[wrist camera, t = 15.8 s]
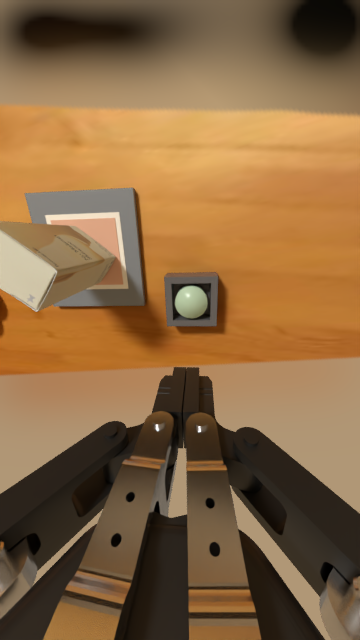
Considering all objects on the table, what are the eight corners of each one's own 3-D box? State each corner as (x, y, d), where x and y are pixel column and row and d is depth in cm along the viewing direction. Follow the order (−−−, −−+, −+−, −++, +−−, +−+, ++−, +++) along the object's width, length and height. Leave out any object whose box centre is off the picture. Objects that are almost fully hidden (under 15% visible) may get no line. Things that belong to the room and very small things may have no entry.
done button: (207, 283, 28) (207, 286, 26) (206, 313, 29) (207, 318, 28) (175, 284, 28) (174, 287, 26) (176, 313, 30) (175, 318, 28)
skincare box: (117, 256, 28) (62, 273, 16) (101, 283, 29) (39, 316, 18) (72, 222, 27) (-20, 216, 15) (57, 252, 28) (-37, 266, 17)
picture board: (134, 189, 26) (132, 187, 25) (145, 303, 31) (143, 305, 30) (29, 194, 27) (23, 193, 26) (57, 304, 32) (53, 306, 31)
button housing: (216, 272, 28) (218, 276, 26) (214, 318, 31) (216, 326, 28) (167, 273, 29) (164, 277, 26) (169, 318, 31) (167, 326, 29)
